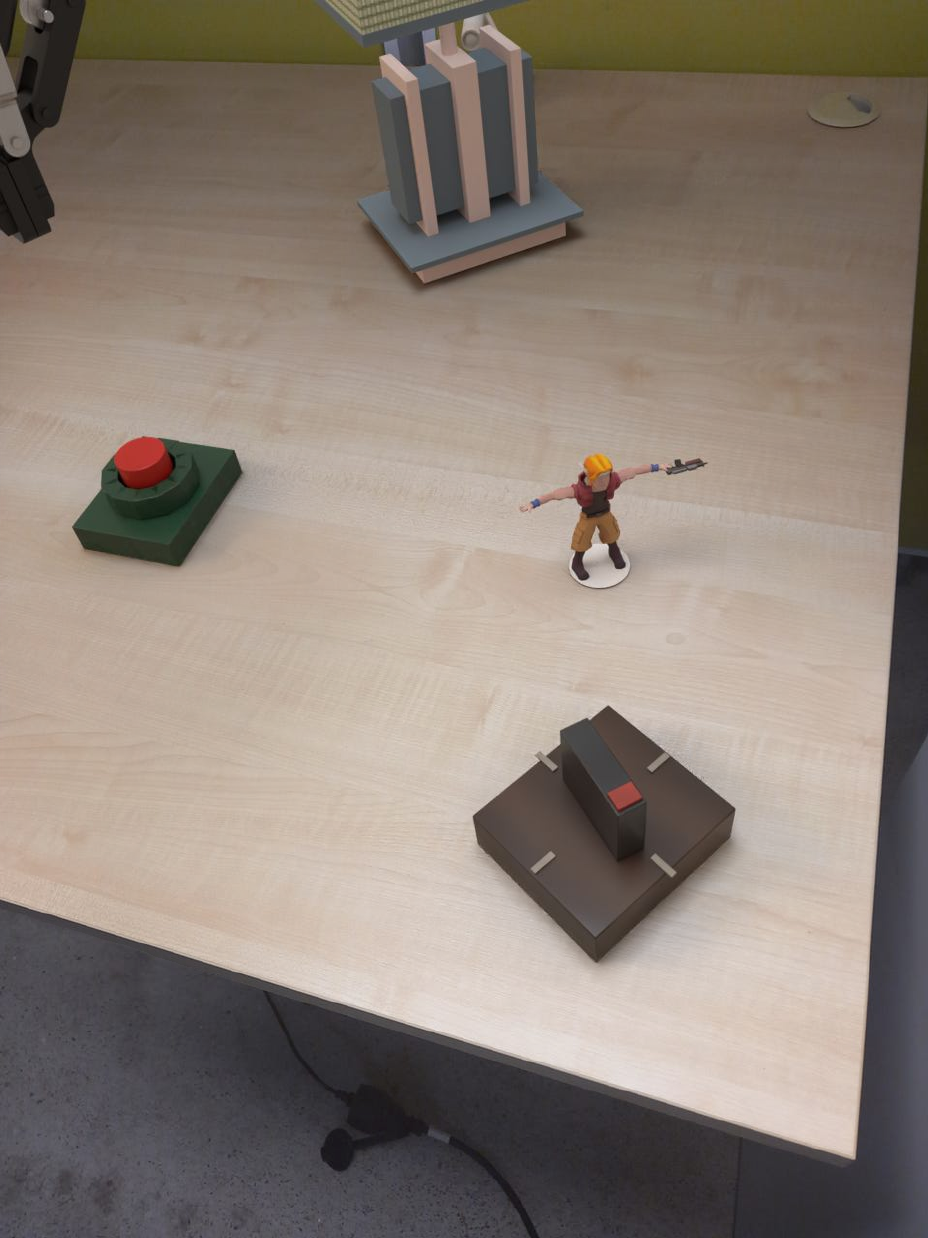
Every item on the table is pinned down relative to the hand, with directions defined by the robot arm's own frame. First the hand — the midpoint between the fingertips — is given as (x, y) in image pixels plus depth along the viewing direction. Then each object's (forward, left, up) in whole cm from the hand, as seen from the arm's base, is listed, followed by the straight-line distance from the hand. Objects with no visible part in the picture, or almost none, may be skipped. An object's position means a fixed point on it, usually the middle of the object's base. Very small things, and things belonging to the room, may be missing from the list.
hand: (30, 232), depth 50 cm
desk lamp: (+43, +21, -27) cm, 54 cm away
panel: (+7, -32, -26) cm, 42 cm away
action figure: (+22, -18, -27) cm, 39 cm away
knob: (+7, -32, -23) cm, 40 cm away
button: (+3, +9, -23) cm, 25 cm away
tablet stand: (+64, +41, -27) cm, 80 cm away
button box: (+3, +9, -26) cm, 28 cm away
